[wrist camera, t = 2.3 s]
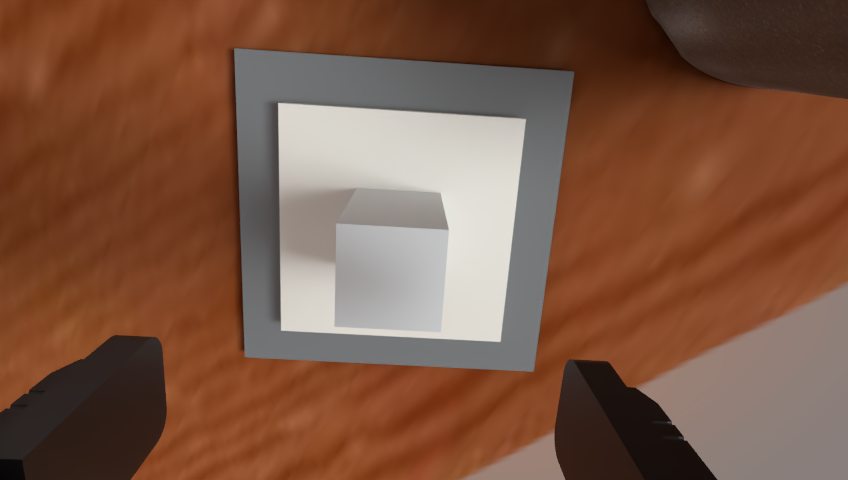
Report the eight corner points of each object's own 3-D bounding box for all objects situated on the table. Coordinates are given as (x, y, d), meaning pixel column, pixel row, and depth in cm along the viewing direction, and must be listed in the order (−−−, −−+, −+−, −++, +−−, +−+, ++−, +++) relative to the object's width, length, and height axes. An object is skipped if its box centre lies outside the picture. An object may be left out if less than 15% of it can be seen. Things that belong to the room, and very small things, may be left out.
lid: (521, 117, 22) (566, 130, 16) (497, 332, 25) (527, 422, 18) (284, 102, 22) (225, 108, 15) (286, 321, 25) (237, 408, 18)
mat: (570, 71, 22) (574, 71, 22) (531, 365, 26) (533, 371, 26) (238, 49, 22) (234, 48, 21) (248, 351, 26) (245, 357, 25)
